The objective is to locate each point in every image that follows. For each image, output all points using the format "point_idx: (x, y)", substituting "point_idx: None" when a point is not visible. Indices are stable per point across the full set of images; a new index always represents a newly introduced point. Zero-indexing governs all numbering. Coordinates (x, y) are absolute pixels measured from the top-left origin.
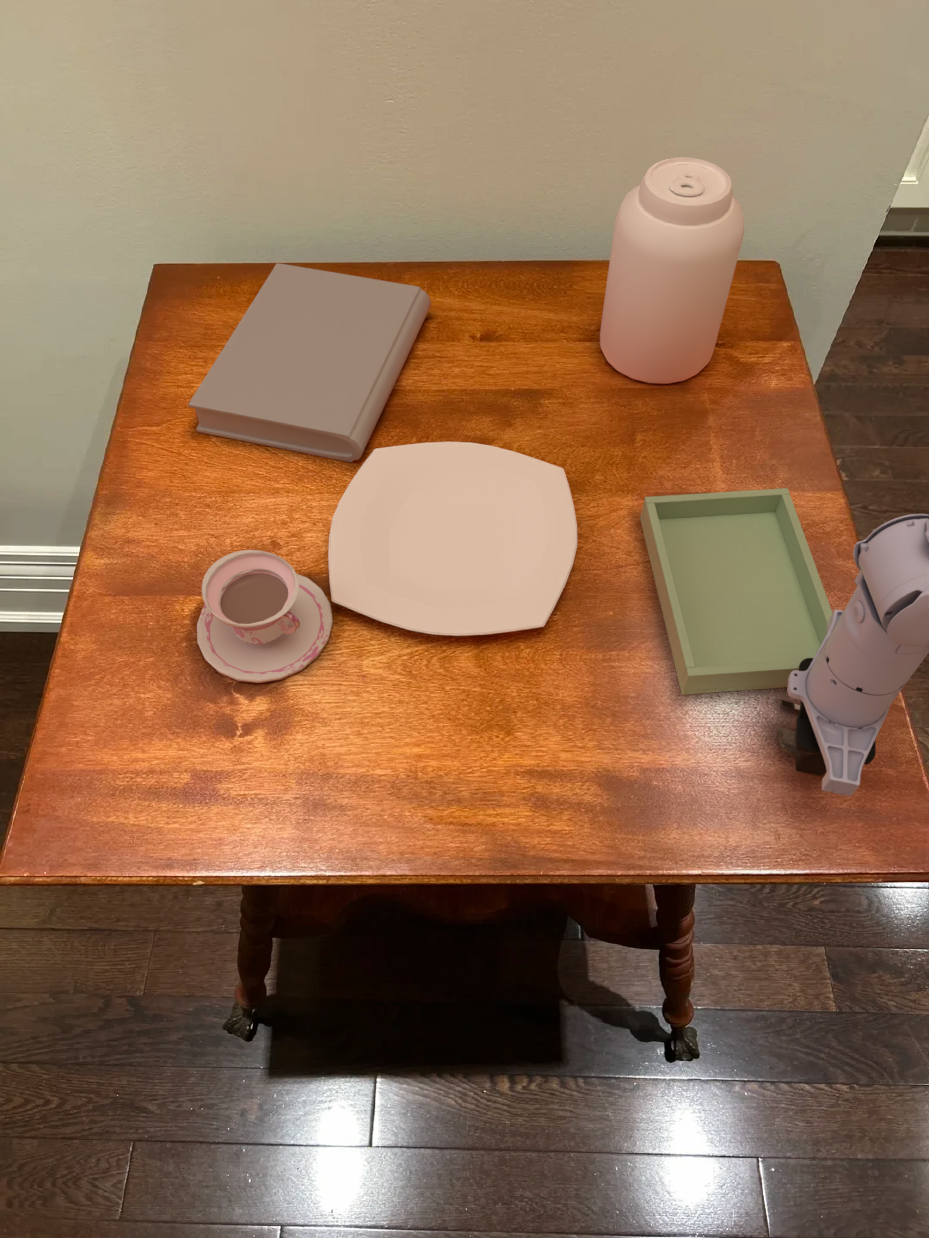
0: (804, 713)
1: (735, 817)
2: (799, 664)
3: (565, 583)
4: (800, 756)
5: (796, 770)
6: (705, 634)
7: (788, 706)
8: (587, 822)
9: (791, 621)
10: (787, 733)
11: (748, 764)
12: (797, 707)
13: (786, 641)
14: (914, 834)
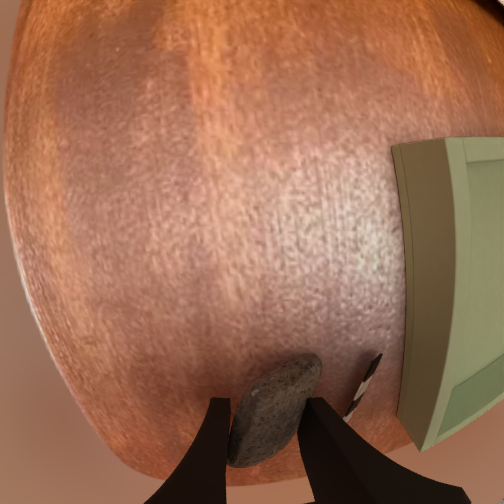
0: (332, 448)
1: (99, 267)
2: (463, 500)
3: (502, 3)
4: (178, 466)
5: (210, 399)
6: (495, 208)
7: (367, 371)
8: (74, 5)
9: (489, 345)
10: (295, 392)
11: (229, 297)
12: (364, 384)
13: (470, 344)
14: None
